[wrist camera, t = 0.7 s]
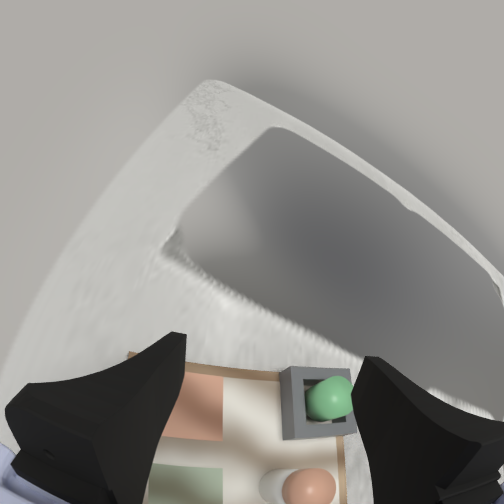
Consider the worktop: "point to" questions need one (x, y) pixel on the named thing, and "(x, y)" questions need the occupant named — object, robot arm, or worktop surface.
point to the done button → (329, 399)
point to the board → (232, 440)
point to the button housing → (295, 404)
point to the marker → (298, 486)
